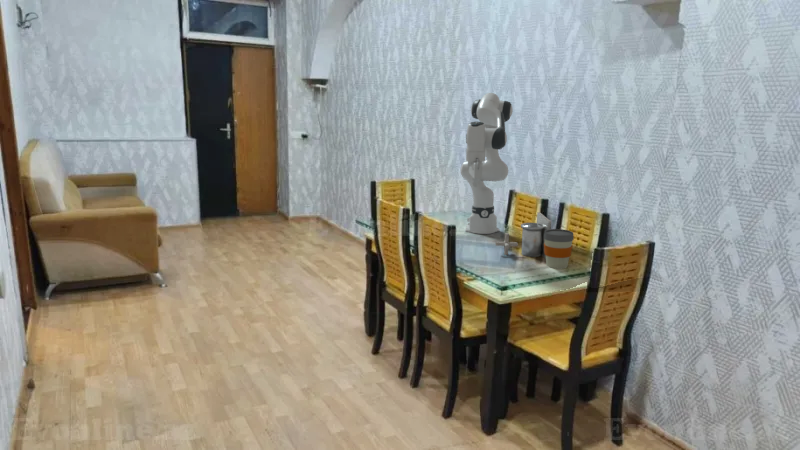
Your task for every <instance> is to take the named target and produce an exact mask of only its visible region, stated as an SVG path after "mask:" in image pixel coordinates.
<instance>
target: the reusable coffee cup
mask: <svg viewBox="0 0 800 450" xmlns="http://www.w3.org/2000/svg"><path fill="white" fill-rule="evenodd" d="M544 239H545V243H544V252H545V255H546V259H545V261H546V264H545V265H546V267H549V268H550V269H551V268H552V269H559V270H560V269H566V268H568V266H569V260H570V257H571V256H572V252H573V251H572V249H573V241H574V240H575V238H574V232H573V231H572V230H567V229H562V228H561V229H560V228H559V229H558V228H551V229H549V230H546V231H545V233H544Z"/></svg>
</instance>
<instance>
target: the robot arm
mask: <svg viewBox="0 0 800 450" xmlns="http://www.w3.org/2000/svg"><path fill="white" fill-rule="evenodd" d="M513 110H514V109H513V105H512V103H511V102H510V101H507V100H500V98H499V96H498V95H497V94H496V93H495V92H487V93H485V94H484V95H483V96H482V97H481V99H476V100H473V102H472V104H471V107H470V113H471V116H472V118H473V119H475V120H478V121H471V122H469V123H468V125H467V130H466V134H465V143H466V150H465V153H466V154H465V155H466V156H465V160H466V161H463V162H462V164H461V166H460V176H461V177H463V179H464V180H465V181H467V183H468V184H469V186H470V189H471V191H472V206H471V215H469V217H467V221H466V222H468V223H467V224H466V227H465V232H467V233H473V234H479V235H486V234H487V235H488V234H494V233H496V232H500V231H501V230H500V228H498V221H497V218H498V217H497V216H496V215H495V206H494V198H495V197H494V194H495V193H494V191H493V190H492V189H491V188H490V187H488V186H486V184H485V183H484V182H502V181H505V179H506V178H507V177H508V175H509V167H508V165H507V164H506V162H504V161H503V160H502V158H501V157H500V154H499V150H502V149H504V147H506V145H507V140H508V137H507V136H508V135H507V132H506V122H508V121H509V120H510V118H511V117H512V114H513Z"/></svg>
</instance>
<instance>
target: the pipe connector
mask: <svg viewBox="0 0 800 450" xmlns="http://www.w3.org/2000/svg"><path fill="white" fill-rule="evenodd" d="M509 237H510V233H509V232H506V233H504V241H495V247H496V246H497V247H499V246H502V247H504V248H503V249H504V252H503V254H504V255H505V256H508V255H509V249H510V247H518V244H519V243H518V242H515V241H514V242H513V241H509V239H510V238H509Z"/></svg>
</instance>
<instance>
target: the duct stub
mask: <svg viewBox="0 0 800 450" xmlns="http://www.w3.org/2000/svg"><path fill="white" fill-rule="evenodd" d="M536 215H537V216H536V222H523V223H521V224H520V228H522V234H521V236H522V237H521V255H522V256H524V257H530V258H537V257H540V256H542V257H543V258H544V259H545V260H546V255H545V252H544V243H545V239H544V233H545V231H546V230H549V229H552V221H551V220H550V219H549V218H547V217H546V216H545V215H544V214H543V213H541V212H540V211H539V212H537V214H536Z"/></svg>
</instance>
